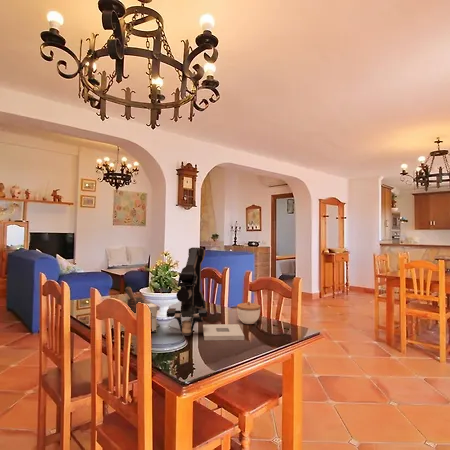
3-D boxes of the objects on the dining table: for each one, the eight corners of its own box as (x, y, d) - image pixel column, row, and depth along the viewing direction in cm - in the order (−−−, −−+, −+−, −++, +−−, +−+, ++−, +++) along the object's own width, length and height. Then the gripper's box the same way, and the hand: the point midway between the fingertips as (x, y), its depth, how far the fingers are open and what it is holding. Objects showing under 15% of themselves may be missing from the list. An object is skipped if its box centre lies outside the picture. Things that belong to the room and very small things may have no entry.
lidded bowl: (248, 327, 167) (249, 305, 167) (232, 321, 176) (232, 301, 176) (265, 323, 175) (265, 302, 175) (248, 318, 184) (248, 298, 185)
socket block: (202, 328, 162) (203, 324, 162) (238, 328, 164) (238, 324, 164) (204, 340, 144) (204, 335, 144) (244, 340, 146) (244, 335, 146)
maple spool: (181, 332, 154) (182, 320, 155) (191, 332, 155) (191, 320, 155) (181, 335, 150) (181, 322, 150) (191, 335, 150) (191, 322, 151)
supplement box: (140, 334, 151) (141, 307, 151) (137, 330, 157) (138, 304, 157) (156, 332, 154) (157, 306, 154) (152, 328, 160) (153, 302, 161)
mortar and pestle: (138, 328, 161) (139, 287, 161) (121, 327, 161) (122, 287, 162) (145, 321, 172) (147, 284, 173) (130, 321, 173) (131, 283, 173)
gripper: (166, 301, 144) (165, 336, 144) (208, 301, 146) (207, 336, 145) (167, 296, 155) (167, 329, 155) (206, 296, 157) (206, 329, 156)
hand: (186, 331), depth 152 cm, fingers closed on maple spool, 4 cm apart
